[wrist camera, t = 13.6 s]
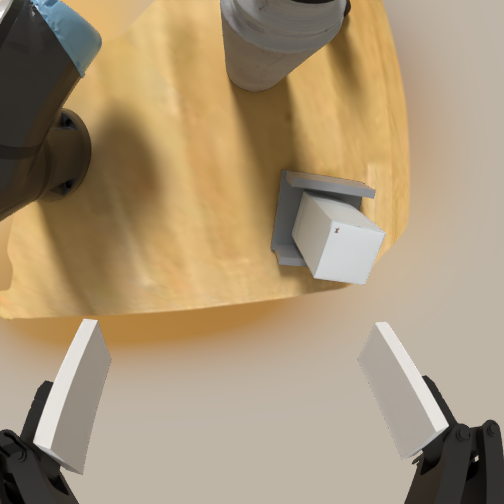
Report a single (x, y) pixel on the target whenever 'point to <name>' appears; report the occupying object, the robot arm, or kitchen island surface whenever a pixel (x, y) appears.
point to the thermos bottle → (274, 37)
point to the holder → (290, 202)
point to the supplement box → (336, 239)
